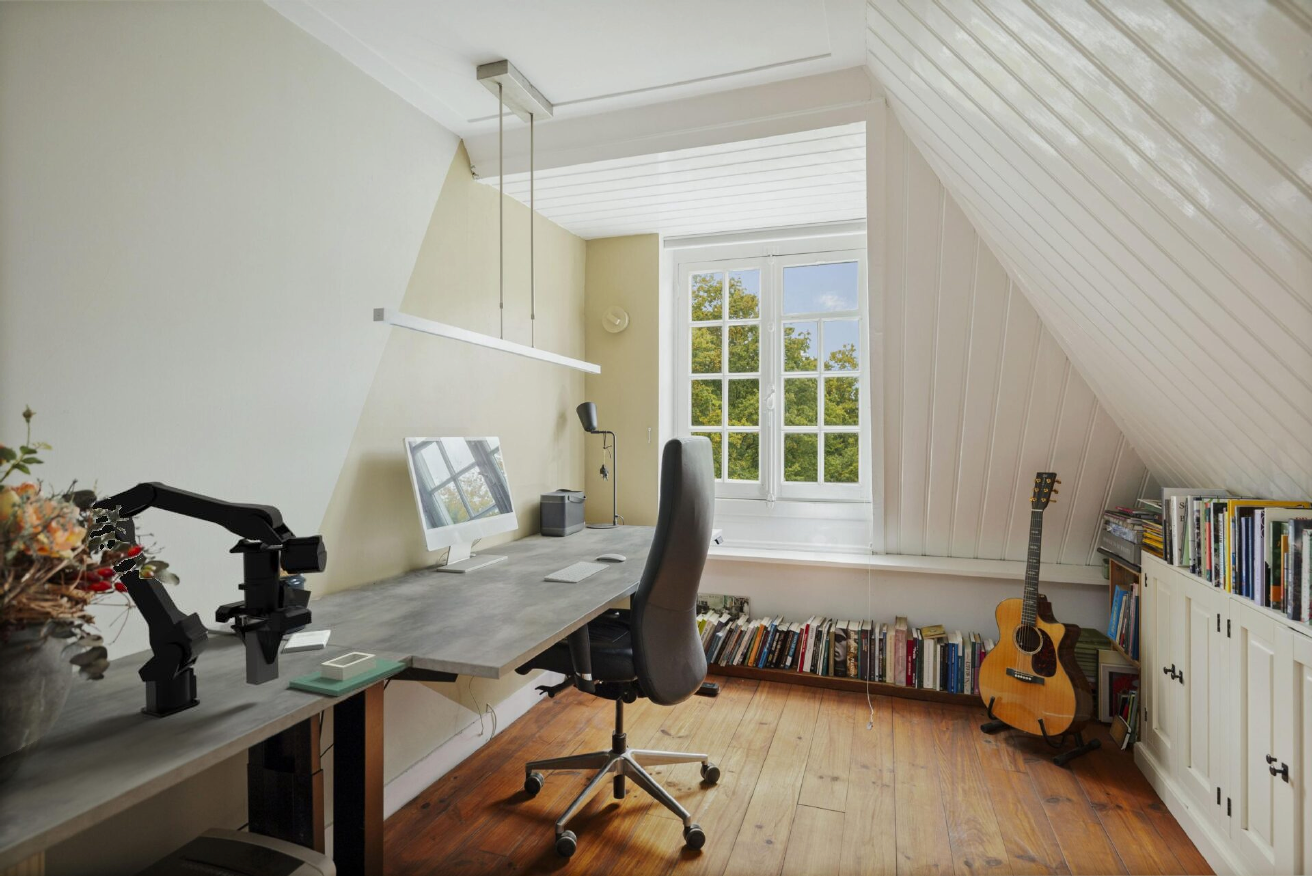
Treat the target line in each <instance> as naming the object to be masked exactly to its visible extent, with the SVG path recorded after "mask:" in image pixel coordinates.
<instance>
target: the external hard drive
mask: <svg viewBox="0 0 1312 876" xmlns="http://www.w3.org/2000/svg"><path fill="white" fill-rule="evenodd" d="M330 636H331V630H330V629H324V630H318V631H317V630H316V631H307V632H306V631H305V632H298V633H297V632H295V633H293V634H292V635H291V637H290V638H289V640H288V641H287V642H286V644H285V646H284V647H283V650H282V652H283V654H286V653H293V652H296V653H297V652H302V651H303V652H305V651H313V650H321V649H325V648H326V645H327V643H328V640H329V639H330Z"/></svg>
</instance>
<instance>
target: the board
mask: <svg viewBox="0 0 1312 876" xmlns="http://www.w3.org/2000/svg"><path fill="white" fill-rule="evenodd" d="M404 669H406V663H403V662H398V661H392V660H386V659H381V658H377V655H376V654H372V653H371V654H370V653H366V652H358V651H353V652H350V653H347V654H343V655H342V656H340V657H337V658H333V659H331V660H328V661H325V662H322V663H320V670H317V671H314V672H312V673H309V674H307V675H304V676H301V677H298V678H295V679H292V680H290V681H289V688H292V689H299V690H304V691H308V692H314V693H319V694H324V695H330V696H332V697H333V696H334V697H340V696H343V695H345V694H347V693H350V692H352V691H355V690H357V689H359V688H361V687H364V686H365V685H366V686H367V685H369V684H371V683H374V682H375V681H378V680H381V679H383V678H386V677H388V676H390V675H392V674H396V673H398V672H400V671H402V670H404Z"/></svg>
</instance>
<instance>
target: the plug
mask: <svg viewBox="0 0 1312 876" xmlns="http://www.w3.org/2000/svg"><path fill="white" fill-rule="evenodd" d="M263 628H264V627H263ZM256 630H257V629H256ZM256 630H252V631H249V632H245V646H246V647H245V646H244V647H245V673H246V675H245V676H246V677H245V679H246V681H245V683H246V684H250V685H253V686H259V685H262V684H265V683H268V682H270V681H274V680H276V679H279V677H280V652H279V651H280V648H279V649H278V652H277V655H276V658H275V661H274V663H273V664H270V665H268V664H267V663H266V661H265V658H264V655H263V652H262V649H261V646H260V643H259V640H258V637H257V634H256Z"/></svg>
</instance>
